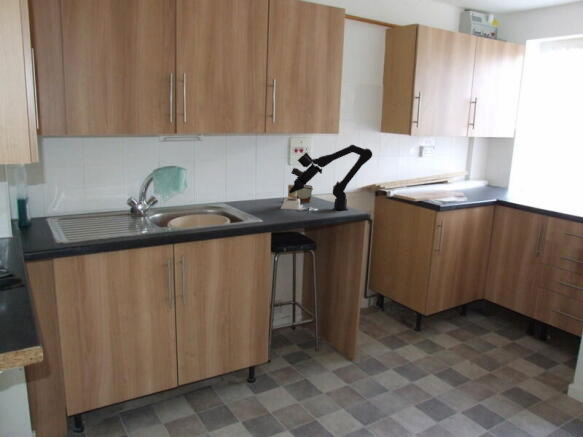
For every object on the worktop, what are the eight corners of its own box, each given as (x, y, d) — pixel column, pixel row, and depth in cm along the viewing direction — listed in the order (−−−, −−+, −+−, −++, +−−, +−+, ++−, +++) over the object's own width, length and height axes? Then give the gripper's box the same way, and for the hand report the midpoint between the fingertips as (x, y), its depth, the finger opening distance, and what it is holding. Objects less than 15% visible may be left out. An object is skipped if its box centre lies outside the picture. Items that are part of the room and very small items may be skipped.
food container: (315, 201, 299) (316, 185, 297) (312, 203, 293) (312, 186, 291) (297, 199, 304) (297, 183, 302) (293, 201, 298) (293, 185, 296)
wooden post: (296, 203, 281) (296, 184, 279) (295, 205, 277) (296, 186, 274) (288, 203, 281) (289, 184, 279) (287, 204, 277) (288, 185, 275)
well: (303, 205, 285) (303, 198, 284) (301, 209, 273) (301, 202, 272) (283, 205, 286) (283, 197, 285) (280, 209, 274) (280, 201, 273)
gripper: (301, 161, 282) (282, 179, 286) (298, 164, 264) (278, 184, 268) (314, 175, 283) (295, 193, 287) (312, 179, 265) (291, 198, 269)
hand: (290, 191), depth 278 cm, fingers closed on wooden post, 4 cm apart
